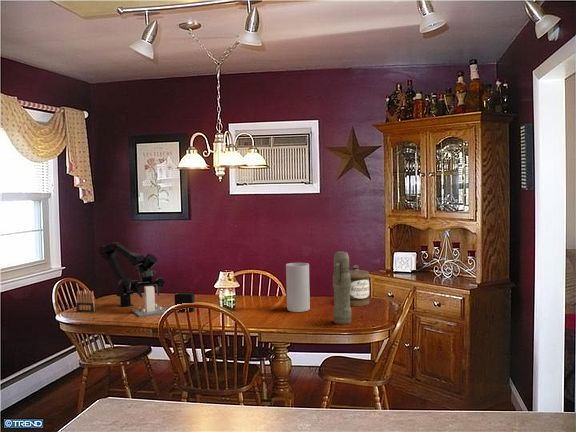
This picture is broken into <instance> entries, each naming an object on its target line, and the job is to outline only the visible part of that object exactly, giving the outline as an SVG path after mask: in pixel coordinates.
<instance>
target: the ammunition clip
mask: <svg viewBox="0 0 576 432" xmlns="http://www.w3.org/2000/svg"><path fill="white" fill-rule="evenodd" d="M76 292H77V293H76V313H95V312H96V303H95V297H94V290H92V291H90V290H80V291H79V290H77V291H76Z"/></svg>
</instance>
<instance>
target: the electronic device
mask: <svg viewBox="0 0 576 432" xmlns="http://www.w3.org/2000/svg"><path fill="white" fill-rule="evenodd" d="M195 298H196V297H195V293H194V292H177V293H175V294H174V306H175V305H177V304H182V303H194V302H195ZM195 303H196V302H195ZM195 310H196V308H195V309H194V308H189V312H188V313H192V312H194V311H195ZM177 313H186V312H185V309H182V310H179V311H178V312H177Z"/></svg>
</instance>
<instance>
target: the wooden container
mask: <svg viewBox="0 0 576 432" xmlns="http://www.w3.org/2000/svg"><path fill="white" fill-rule="evenodd" d="M359 268H360V266H359V265H358V264H354V265H352V269H349V273H350V276H351V288H350V307H363V306H367V305H369V304H370V272H369V271H368V270H364V269H359Z"/></svg>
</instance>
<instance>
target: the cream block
mask: <svg viewBox="0 0 576 432" xmlns="http://www.w3.org/2000/svg"><path fill="white" fill-rule="evenodd" d="M143 293H144V295H143V296H144V298H143V299H144V308H145V311H147V312H149V311H155V304H156V297H155V295H156V294H155V287H154V285H149V286H144V287H143Z"/></svg>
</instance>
